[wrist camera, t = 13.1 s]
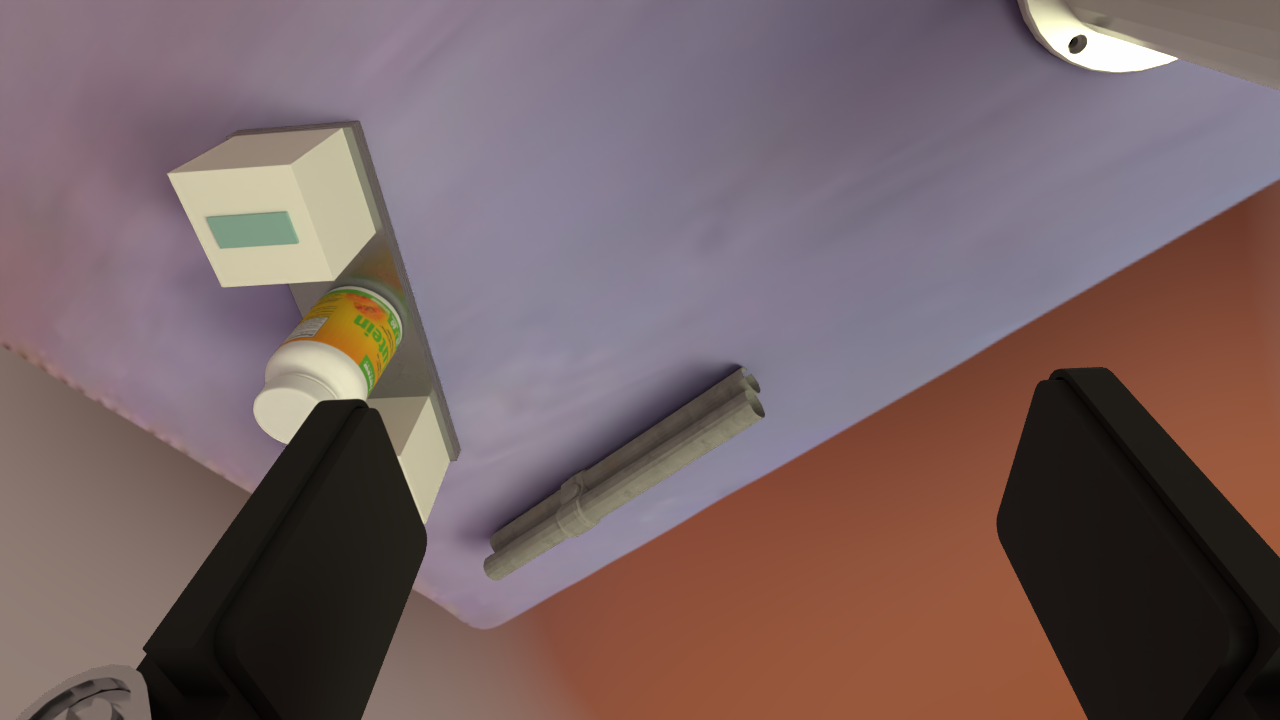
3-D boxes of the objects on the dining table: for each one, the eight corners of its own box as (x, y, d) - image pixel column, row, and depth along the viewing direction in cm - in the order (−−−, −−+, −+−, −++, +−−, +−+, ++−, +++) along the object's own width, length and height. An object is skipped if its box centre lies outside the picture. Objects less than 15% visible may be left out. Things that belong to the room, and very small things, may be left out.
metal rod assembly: (736, 356, 45) (743, 402, 41) (761, 381, 46) (770, 428, 42) (486, 525, 56) (471, 576, 51) (511, 543, 57) (499, 593, 52)
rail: (359, 120, 37) (351, 127, 36) (460, 449, 50) (456, 460, 49) (237, 130, 37) (226, 136, 36) (370, 453, 51) (364, 464, 50)
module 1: (342, 127, 36) (288, 165, 31) (375, 232, 39) (332, 282, 34) (234, 136, 36) (164, 174, 31) (277, 239, 40) (220, 289, 35)
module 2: (428, 396, 46) (399, 458, 41) (449, 461, 49) (424, 526, 44) (344, 399, 47) (304, 461, 41) (370, 464, 50) (336, 528, 45)
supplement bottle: (420, 342, 44) (365, 443, 36) (350, 365, 45) (282, 467, 37) (373, 272, 41) (303, 364, 33) (300, 298, 42) (214, 394, 34)
